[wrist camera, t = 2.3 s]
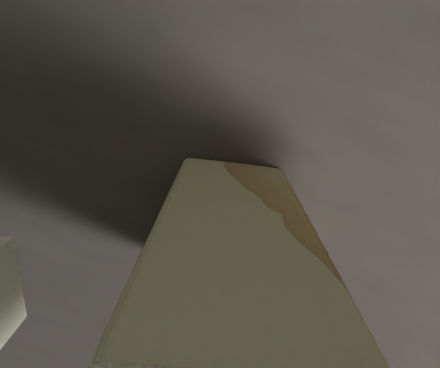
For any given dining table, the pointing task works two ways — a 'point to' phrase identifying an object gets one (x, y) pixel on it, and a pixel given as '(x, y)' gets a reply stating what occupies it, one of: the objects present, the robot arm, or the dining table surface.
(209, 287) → the box
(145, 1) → the dining table surface
